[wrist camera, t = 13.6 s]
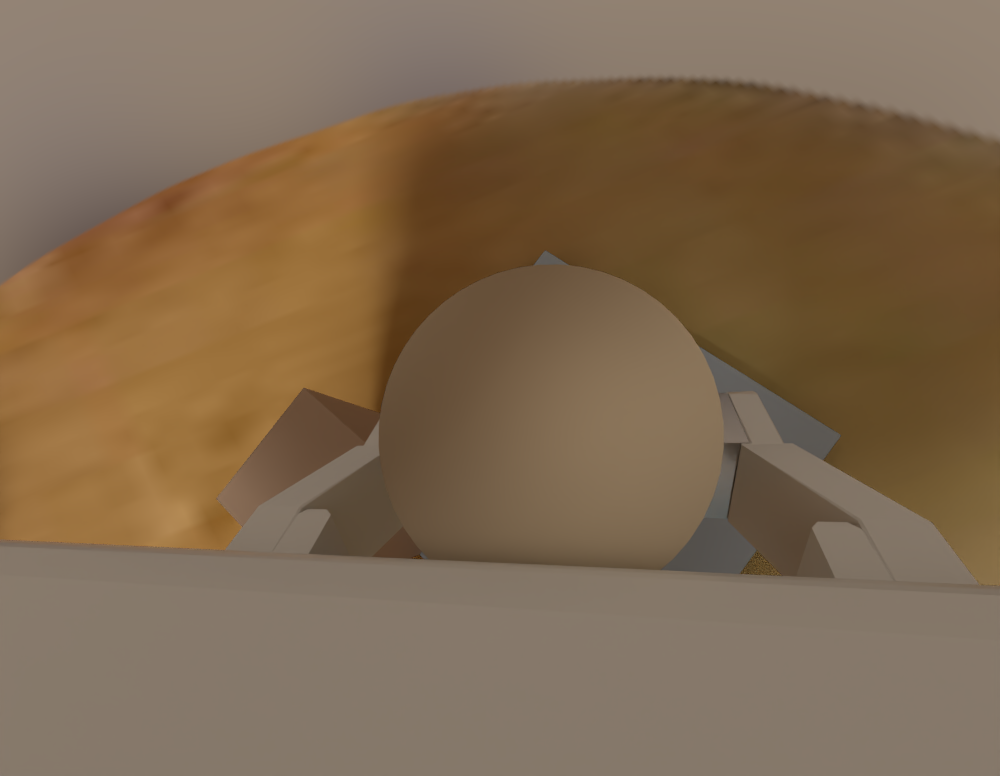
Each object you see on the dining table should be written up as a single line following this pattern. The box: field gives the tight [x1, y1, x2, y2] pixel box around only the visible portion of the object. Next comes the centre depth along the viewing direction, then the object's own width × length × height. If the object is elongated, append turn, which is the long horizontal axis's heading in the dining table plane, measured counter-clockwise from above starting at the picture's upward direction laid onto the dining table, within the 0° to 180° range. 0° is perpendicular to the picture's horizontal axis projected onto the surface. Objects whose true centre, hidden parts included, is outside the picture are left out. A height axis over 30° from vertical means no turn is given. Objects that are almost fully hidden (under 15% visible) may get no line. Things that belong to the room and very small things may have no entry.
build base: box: [216, 250, 841, 574], centre depth 16 cm, size 14×14×9 cm
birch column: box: [379, 264, 724, 570], centre depth 11 cm, size 4×4×10 cm
